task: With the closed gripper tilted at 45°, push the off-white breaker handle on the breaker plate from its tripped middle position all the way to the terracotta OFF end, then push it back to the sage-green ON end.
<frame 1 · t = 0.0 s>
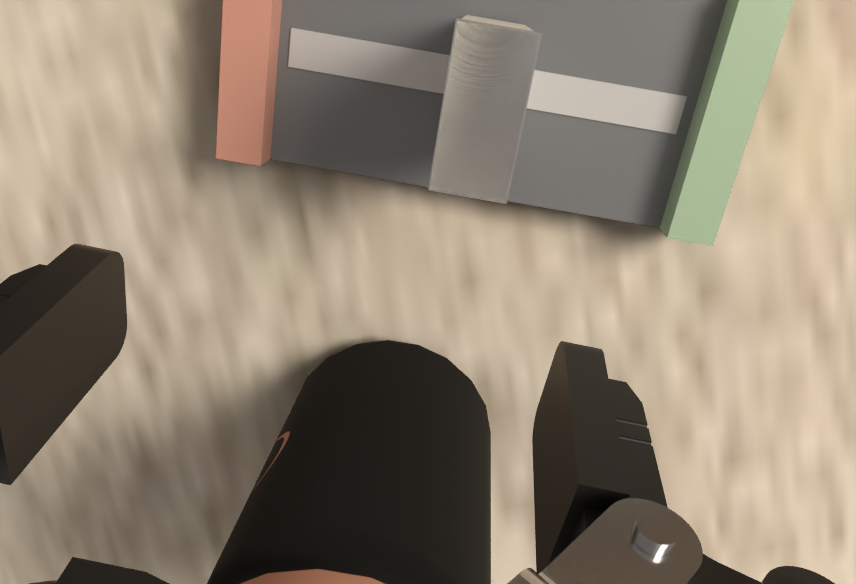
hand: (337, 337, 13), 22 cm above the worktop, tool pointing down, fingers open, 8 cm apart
breaker plate: (485, 76, 33), on the worktop
coffee jar: (394, 415, 40), on the worktop
breaker handle: (483, 95, 26), point 7 cm above the worktop, slide at 0.0 cm
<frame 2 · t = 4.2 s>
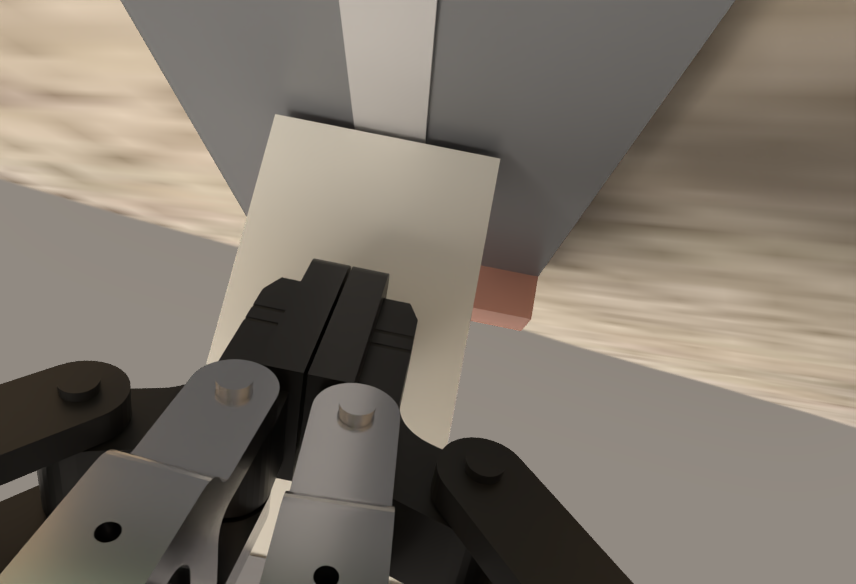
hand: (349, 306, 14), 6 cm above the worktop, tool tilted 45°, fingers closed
breaker plate: (408, 40, 16), on the worktop
breaker handle: (342, 361, 16), point 7 cm above the worktop, slide at 1.4 cm, touching gripper
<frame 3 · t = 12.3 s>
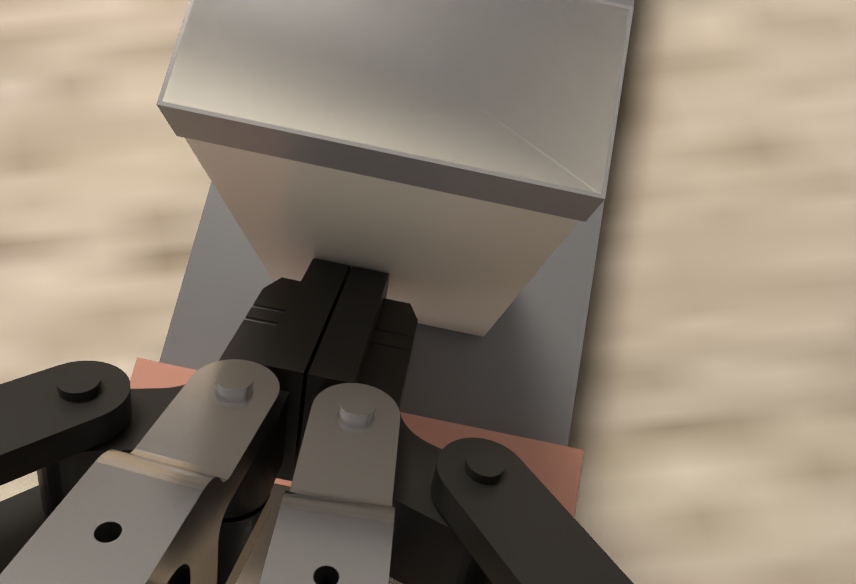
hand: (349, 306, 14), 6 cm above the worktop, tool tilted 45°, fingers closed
breaker plate: (431, 112, 21), on the worktop
breaker handle: (396, 200, 13), point 7 cm above the worktop, slide at 5.5 cm, touching gripper
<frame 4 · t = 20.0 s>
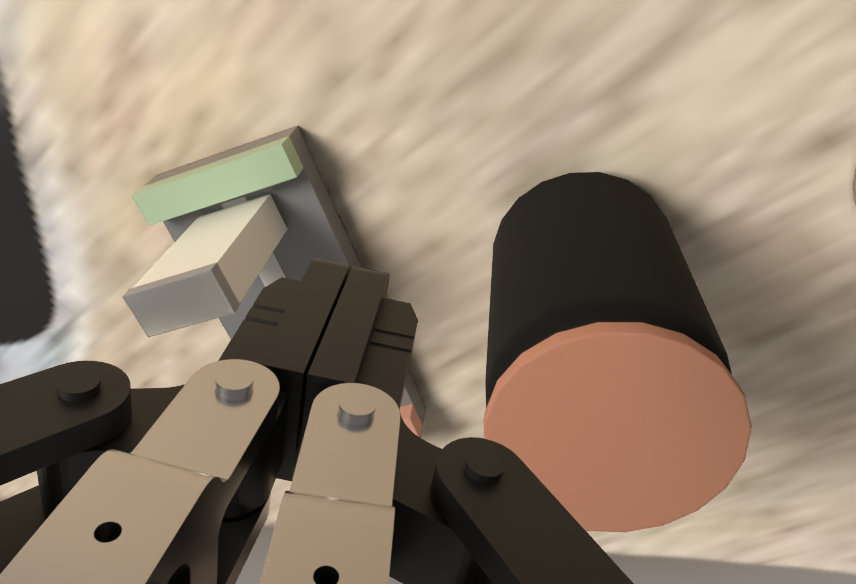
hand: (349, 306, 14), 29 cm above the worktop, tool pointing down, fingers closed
breaker plate: (301, 299, 49), on the worktop
coffee jar: (579, 244, 45), on the worktop
breaker handle: (213, 259, 39), point 7 cm above the worktop, slide at -7.0 cm
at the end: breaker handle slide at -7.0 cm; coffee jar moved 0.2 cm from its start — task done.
